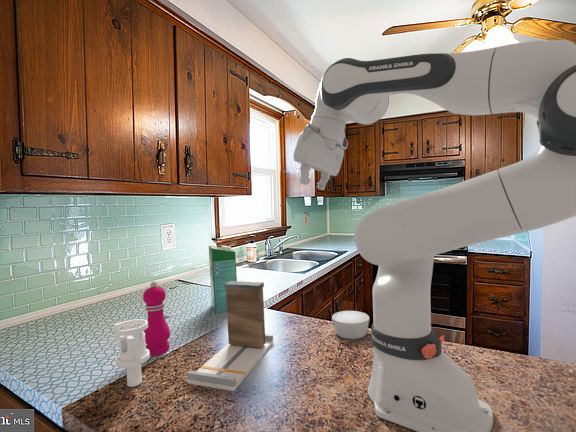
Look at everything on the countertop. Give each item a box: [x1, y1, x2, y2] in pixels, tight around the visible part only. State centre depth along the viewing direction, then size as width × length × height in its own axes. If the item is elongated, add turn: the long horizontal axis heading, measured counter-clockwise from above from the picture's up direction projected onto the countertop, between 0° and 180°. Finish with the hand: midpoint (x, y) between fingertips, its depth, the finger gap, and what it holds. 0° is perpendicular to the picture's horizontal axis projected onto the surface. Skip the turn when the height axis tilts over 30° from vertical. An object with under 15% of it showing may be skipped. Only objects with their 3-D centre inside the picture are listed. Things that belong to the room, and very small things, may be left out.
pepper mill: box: [142, 281, 171, 356], centre depth 88 cm, size 7×7×20 cm
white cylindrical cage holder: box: [113, 318, 151, 388], centre depth 72 cm, size 7×7×15 cm
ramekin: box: [331, 310, 370, 340], centre depth 95 cm, size 11×11×5 cm
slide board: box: [186, 333, 274, 392], centre depth 81 cm, size 24×12×2 cm, turn 162°
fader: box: [225, 280, 266, 348], centre depth 87 cm, size 4×10×17 cm, turn 72°
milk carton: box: [208, 245, 238, 313], centre depth 124 cm, size 9×9×25 cm
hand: (312, 186), depth 80 cm, fingers open, 8 cm apart
